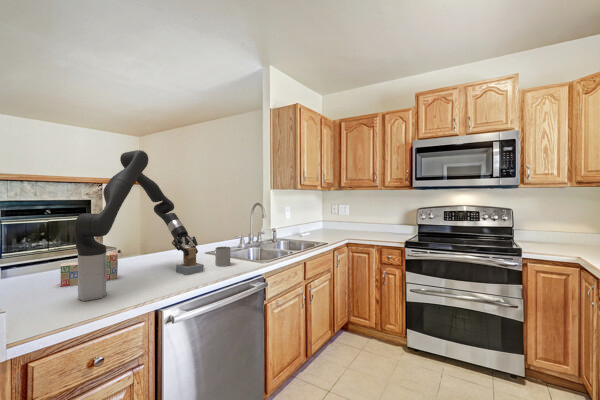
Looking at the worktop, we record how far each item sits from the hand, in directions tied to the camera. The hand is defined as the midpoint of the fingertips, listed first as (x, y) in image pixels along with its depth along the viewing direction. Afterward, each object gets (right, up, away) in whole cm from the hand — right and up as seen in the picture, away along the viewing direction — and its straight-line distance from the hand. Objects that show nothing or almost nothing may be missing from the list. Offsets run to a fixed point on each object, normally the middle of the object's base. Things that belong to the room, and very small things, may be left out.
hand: (192, 254), depth 153 cm
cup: (+12, -10, +17) cm, 23 cm away
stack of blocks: (-41, -10, -17) cm, 46 cm away
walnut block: (-2, -6, +1) cm, 6 cm away
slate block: (-2, -10, +1) cm, 10 cm away
